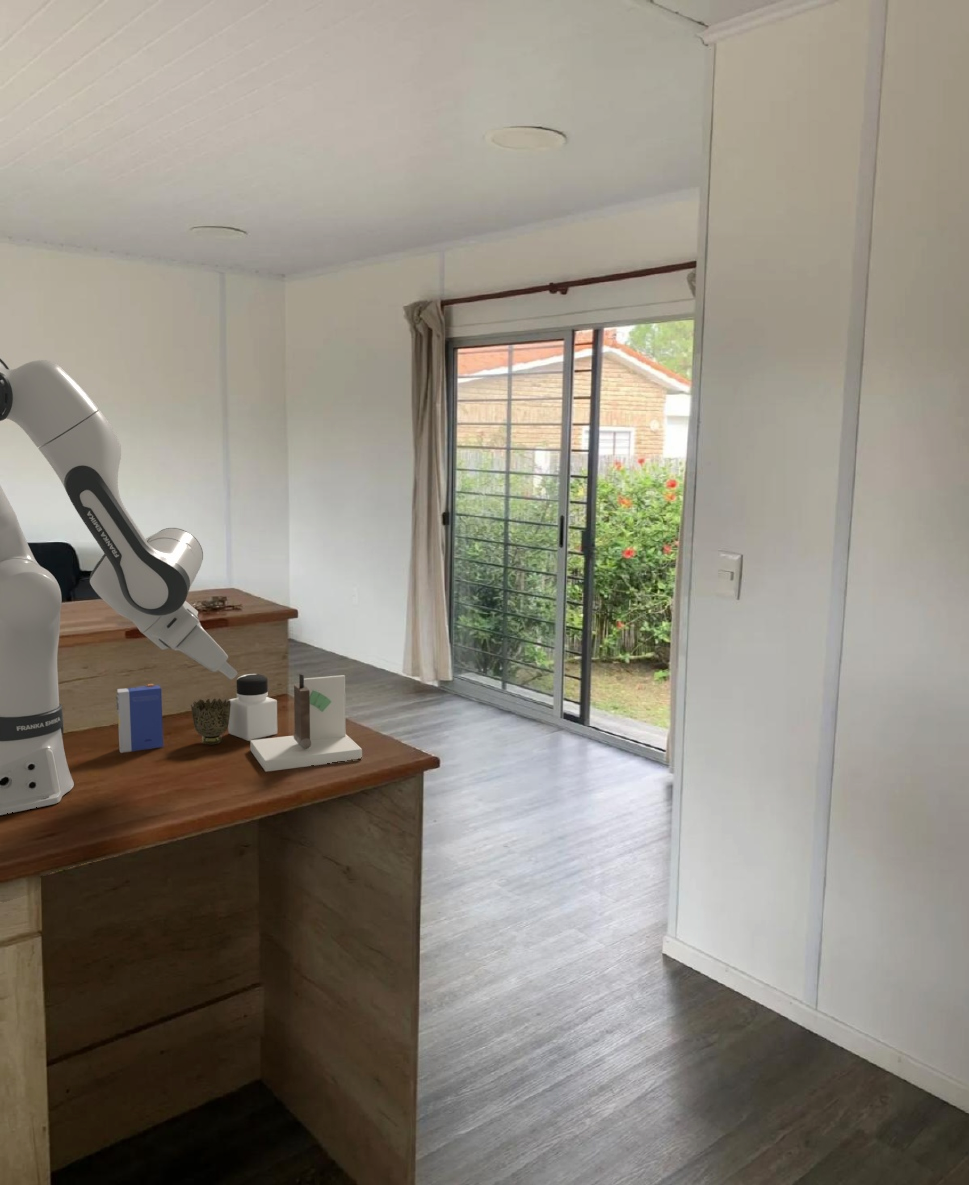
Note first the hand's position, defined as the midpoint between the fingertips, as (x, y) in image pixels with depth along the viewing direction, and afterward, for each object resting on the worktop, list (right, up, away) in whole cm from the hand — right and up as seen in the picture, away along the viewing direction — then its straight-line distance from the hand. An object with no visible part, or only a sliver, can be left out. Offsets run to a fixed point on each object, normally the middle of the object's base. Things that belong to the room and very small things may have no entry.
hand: (233, 675), depth 171 cm
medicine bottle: (-2, -14, +24) cm, 28 cm away
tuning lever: (+10, -13, +9) cm, 19 cm away
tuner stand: (+11, -16, +11) cm, 22 cm away
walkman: (-21, -15, +14) cm, 30 cm away
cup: (-9, -15, +18) cm, 25 cm away
